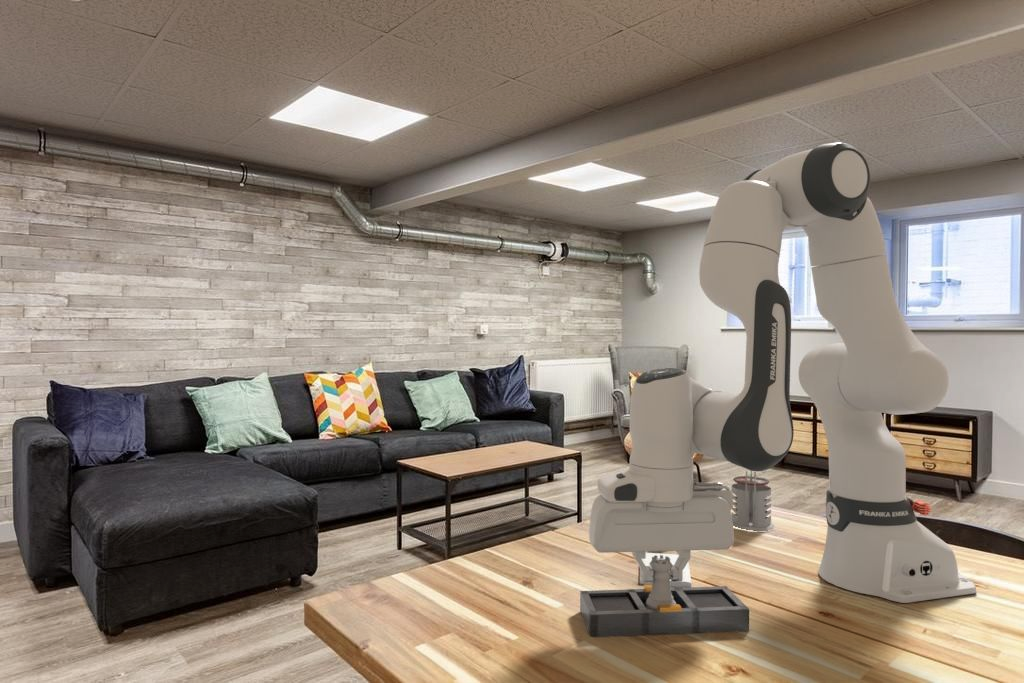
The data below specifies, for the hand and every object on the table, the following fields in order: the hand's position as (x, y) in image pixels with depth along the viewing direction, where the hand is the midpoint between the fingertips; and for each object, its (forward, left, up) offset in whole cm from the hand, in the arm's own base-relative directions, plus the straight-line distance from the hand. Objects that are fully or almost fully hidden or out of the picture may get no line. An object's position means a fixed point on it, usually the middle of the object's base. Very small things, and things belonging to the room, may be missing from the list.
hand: (661, 580), depth 91 cm
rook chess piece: (0, 0, -5) cm, 5 cm away
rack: (0, 0, -6) cm, 6 cm away
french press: (-32, -42, -6) cm, 53 cm away
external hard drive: (-6, -18, -6) cm, 20 cm away
